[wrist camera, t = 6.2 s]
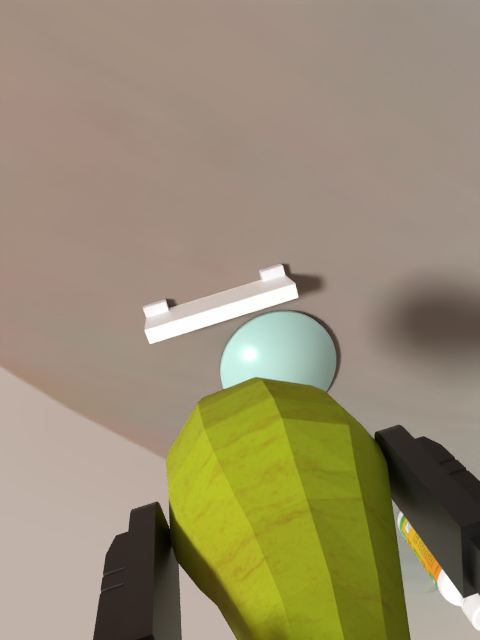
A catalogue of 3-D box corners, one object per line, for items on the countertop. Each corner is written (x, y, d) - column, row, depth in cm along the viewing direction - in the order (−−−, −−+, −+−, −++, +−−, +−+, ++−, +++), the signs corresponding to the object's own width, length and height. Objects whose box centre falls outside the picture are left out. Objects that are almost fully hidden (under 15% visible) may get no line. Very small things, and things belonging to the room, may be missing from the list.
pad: (322, 294, 30) (325, 297, 29) (342, 395, 33) (345, 399, 32) (205, 331, 29) (206, 334, 29) (237, 430, 32) (238, 434, 32)
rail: (280, 263, 28) (292, 273, 26) (287, 294, 29) (300, 307, 26) (143, 305, 28) (140, 320, 25) (154, 336, 29) (153, 353, 26)
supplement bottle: (384, 524, 39) (450, 629, 30) (420, 483, 38) (499, 579, 29) (422, 541, 41) (495, 645, 32) (457, 502, 40) (543, 599, 30)
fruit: (331, 331, 14) (967, 902, 3) (336, 472, 16) (714, 1110, 5) (147, 363, 13) (72, 1339, 2) (178, 508, 15) (220, 1366, 4)
